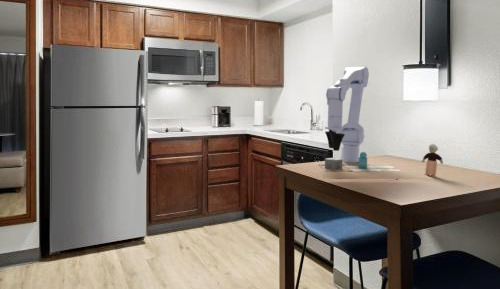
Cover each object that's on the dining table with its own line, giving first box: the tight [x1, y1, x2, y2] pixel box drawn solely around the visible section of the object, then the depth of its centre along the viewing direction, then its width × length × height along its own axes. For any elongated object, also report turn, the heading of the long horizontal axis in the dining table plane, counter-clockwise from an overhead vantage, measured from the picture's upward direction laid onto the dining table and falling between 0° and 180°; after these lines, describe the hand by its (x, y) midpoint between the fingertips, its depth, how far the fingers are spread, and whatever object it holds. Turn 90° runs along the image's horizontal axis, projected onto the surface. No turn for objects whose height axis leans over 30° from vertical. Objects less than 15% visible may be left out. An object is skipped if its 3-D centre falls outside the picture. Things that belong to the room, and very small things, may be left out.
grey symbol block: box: [324, 157, 343, 170], centre depth 162 cm, size 5×5×5 cm
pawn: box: [357, 151, 368, 169], centre depth 161 cm, size 3×3×7 cm
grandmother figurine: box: [421, 143, 444, 178], centre depth 151 cm, size 8×4×13 cm, turn 62°
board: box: [318, 164, 401, 172], centre depth 161 cm, size 14×31×1 cm, turn 91°
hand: (333, 149), depth 161 cm, fingers open, 7 cm apart
